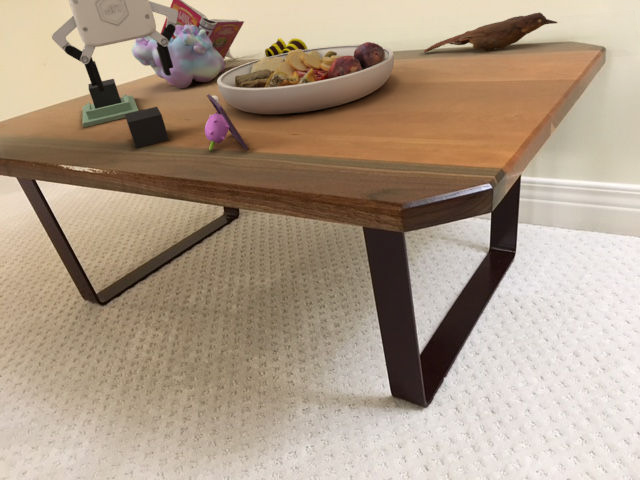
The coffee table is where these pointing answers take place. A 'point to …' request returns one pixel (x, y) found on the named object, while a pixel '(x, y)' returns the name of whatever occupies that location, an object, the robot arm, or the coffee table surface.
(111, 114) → the dock
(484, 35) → the bird sculpture
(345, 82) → the bowl
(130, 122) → the gripped black block
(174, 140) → the coffee table surface
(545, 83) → the coffee table surface
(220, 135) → the purple panel with bulb
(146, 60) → the marbled pastel blob
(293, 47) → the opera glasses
